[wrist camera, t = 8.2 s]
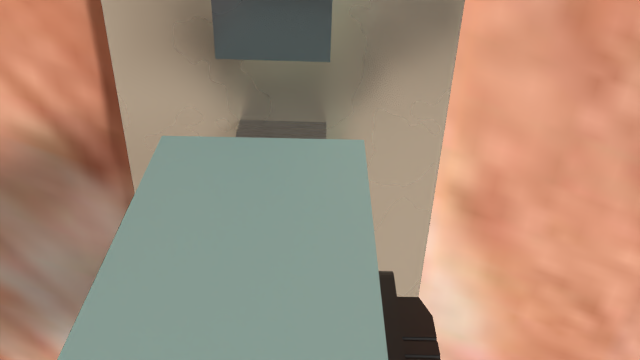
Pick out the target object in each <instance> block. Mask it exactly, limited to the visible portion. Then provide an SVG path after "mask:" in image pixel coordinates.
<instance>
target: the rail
mask: <svg viewBox="0 0 640 360" xmlns="http://www.w3.org/2000/svg"><path fill="white" fill-rule="evenodd" d="M464 2H465V0H101V4H102V9H103V15H104V21H105V26H106V32H107V38H108V44H109V49H110V55H111V61H112V67H113V72H114V78H115V84H116V90H117V95H118V101H119V107H120V112H121V118H122V124H123V130H124V135H125V141H126V147H127V153H128V158H129V164H130V170H131V175H132V181H133V187H134V193H135V192H136V190H137V188H138V186H139V184H140V182H141V179H142V177H143V175H144V173H145V171H146V169H147V167H148V164H149V162H150V160H151V158H152V156H153V154H154V152H155V149H156V147H157V145H158V143H159V141H160V139H161V137H162V136H201V137H251V138H300V139H350V140H364V144H365V153H366V162H367V171H368V180H369V189H370V198H371V208H372V217H373V226H374V235H375V244H376V253H377V262H378V271H393V273H394V279H395V286H396V293H397V297H418V295H419V289H420V282H421V276H422V270H423V263H424V257H425V251H426V244H427V238H428V232H429V225H430V219H431V212H432V206H433V200H434V193H435V187H436V181H437V174H438V168H439V161H440V155H441V149H442V142H443V136H444V130H445V123H446V117H447V111H448V104H449V98H450V91H451V85H452V79H453V72H454V66H455V60H456V53H457V47H458V40H459V34H460V28H461V21H462V15H463V9H464Z"/></svg>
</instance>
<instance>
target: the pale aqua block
mask: <svg viewBox="0 0 640 360" xmlns="http://www.w3.org/2000/svg"><path fill="white" fill-rule="evenodd" d="M57 360H388V354H387V344H386V335H385V326H384V317H383V308H382V299H381V290H380V281H379V271H378V262H377V253H376V244H375V235H374V226H373V217H372V208H371V198H370V189H369V180H368V171H367V162H366V153H365V144H364V140H350V139H300V138H251V137H201V136H162V137H161V139H160V141H159V143H158V145H157V147H156V149H155V152H154V154H153V156H152V158H151V160H150V162H149V164H148V167H147V169H146V171H145V173H144V175H143V177H142V179H141V182H140V184H139V186H138V188H137V190H136V192H135V194H134V197H133V199H132V201H131V203H130V205H129V207H128V209H127V212H126V214H125V216H124V218H123V220H122V222H121V224H120V227H119V229H118V231H117V233H116V235H115V237H114V239H113V242H112V244H111V246H110V248H109V250H108V252H107V254H106V257H105V259H104V261H103V263H102V265H101V267H100V269H99V272H98V274H97V276H96V278H95V280H94V282H93V284H92V287H91V289H90V291H89V293H88V295H87V297H86V299H85V301H84V304H83V306H82V308H81V310H80V312H79V314H78V316H77V319H76V321H75V323H74V325H73V327H72V329H71V331H70V334H69V336H68V338H67V340H66V342H65V344H64V346H63V349H62V351H61V353H60V355H59V357H58V359H57Z"/></svg>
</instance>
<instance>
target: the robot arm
mask: <svg viewBox="0 0 640 360" xmlns="http://www.w3.org/2000/svg"><path fill="white" fill-rule="evenodd" d="M379 281H380V290H381V299H382V308H383V317H384V326H385V335H386V344H387V354H388V360H440V352H439V347H438V342H437V340H436V338H437V337H436V332H435V327H434V322H433V317H432V315H431V313H430V312H429V311H428V309H427V308H426V307H425V305H424V304H423V303H422V301H421V300H420V298H419V297H397V293H396V286H395V279H394V273H393V271H379Z"/></svg>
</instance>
